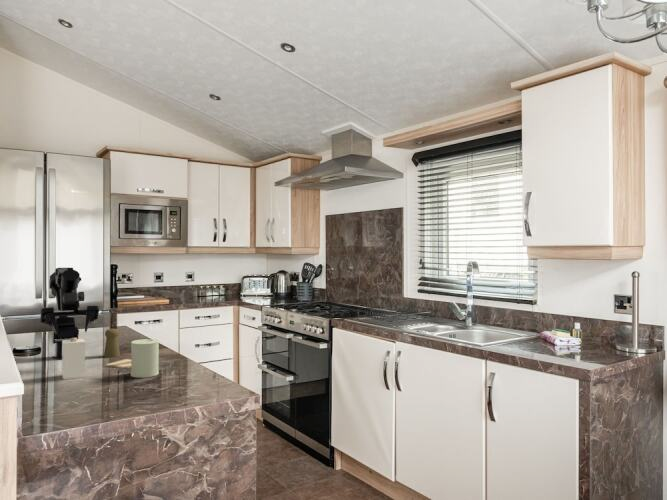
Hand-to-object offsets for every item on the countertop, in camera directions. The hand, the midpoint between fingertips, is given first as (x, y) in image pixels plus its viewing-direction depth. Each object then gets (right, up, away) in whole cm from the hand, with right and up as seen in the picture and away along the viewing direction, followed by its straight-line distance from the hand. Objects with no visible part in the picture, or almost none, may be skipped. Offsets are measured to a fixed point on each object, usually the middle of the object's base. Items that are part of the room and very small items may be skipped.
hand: (71, 332), depth 181 cm
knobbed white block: (+4, -14, -7) cm, 16 cm away
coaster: (+15, -14, +11) cm, 23 cm away
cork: (+4, -14, +25) cm, 29 cm away
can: (+27, -14, -4) cm, 31 cm away
